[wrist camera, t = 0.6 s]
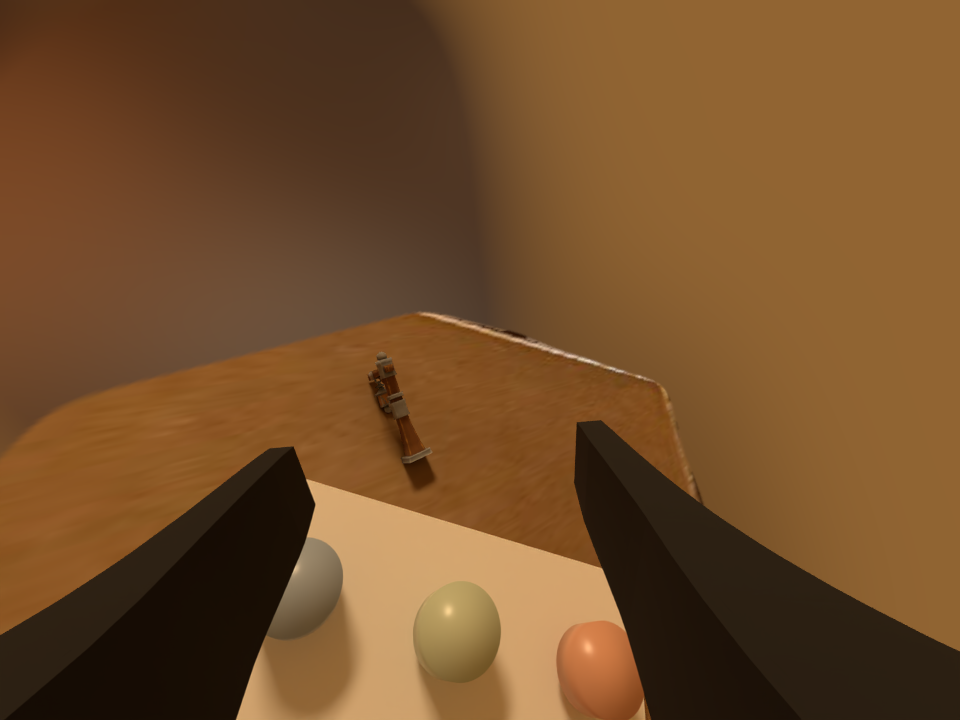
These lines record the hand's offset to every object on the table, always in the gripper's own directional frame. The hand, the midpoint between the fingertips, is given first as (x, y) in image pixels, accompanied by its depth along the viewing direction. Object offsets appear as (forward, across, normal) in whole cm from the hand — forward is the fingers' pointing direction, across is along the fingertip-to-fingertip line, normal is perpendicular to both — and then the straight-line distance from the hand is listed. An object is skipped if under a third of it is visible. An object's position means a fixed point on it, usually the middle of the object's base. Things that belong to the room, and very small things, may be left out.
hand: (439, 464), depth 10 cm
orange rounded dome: (+3, -6, +18) cm, 19 cm away
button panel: (+5, +3, +17) cm, 18 cm away
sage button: (+4, +2, +15) cm, 16 cm away
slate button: (+5, +9, +12) cm, 16 cm away
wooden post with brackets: (+17, +6, +10) cm, 20 cm away
